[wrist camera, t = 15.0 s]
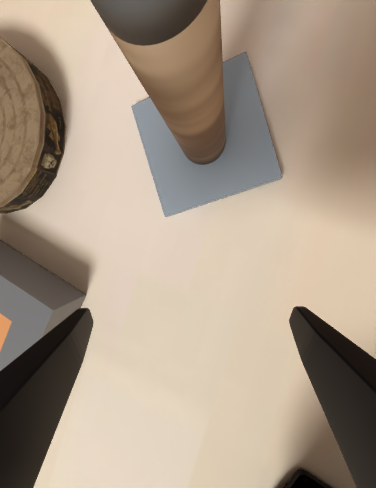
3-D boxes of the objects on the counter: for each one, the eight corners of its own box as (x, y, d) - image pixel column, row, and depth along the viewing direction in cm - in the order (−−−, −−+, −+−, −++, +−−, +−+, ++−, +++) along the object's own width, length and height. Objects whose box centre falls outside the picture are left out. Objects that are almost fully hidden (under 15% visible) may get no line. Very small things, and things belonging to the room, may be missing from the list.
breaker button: (42, 307, 22) (13, 320, 19) (27, 344, 22) (-4, 362, 19) (7, 283, 22) (-27, 292, 19) (-7, 320, 23) (-41, 334, 20)
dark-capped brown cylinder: (235, 141, 16) (254, -148, 4) (201, 174, 17) (123, 22, 4) (205, 109, 17) (128, -262, 4) (173, 143, 17) (24, -82, 5)
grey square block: (86, 294, 21) (53, 310, 17) (45, 384, 23) (7, 417, 19) (-2, 238, 23) (-51, 241, 19) (-33, 327, 25) (-83, 346, 21)
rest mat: (245, 57, 16) (245, 51, 16) (280, 178, 17) (282, 177, 16) (134, 109, 18) (131, 106, 18) (166, 216, 19) (165, 216, 18)
